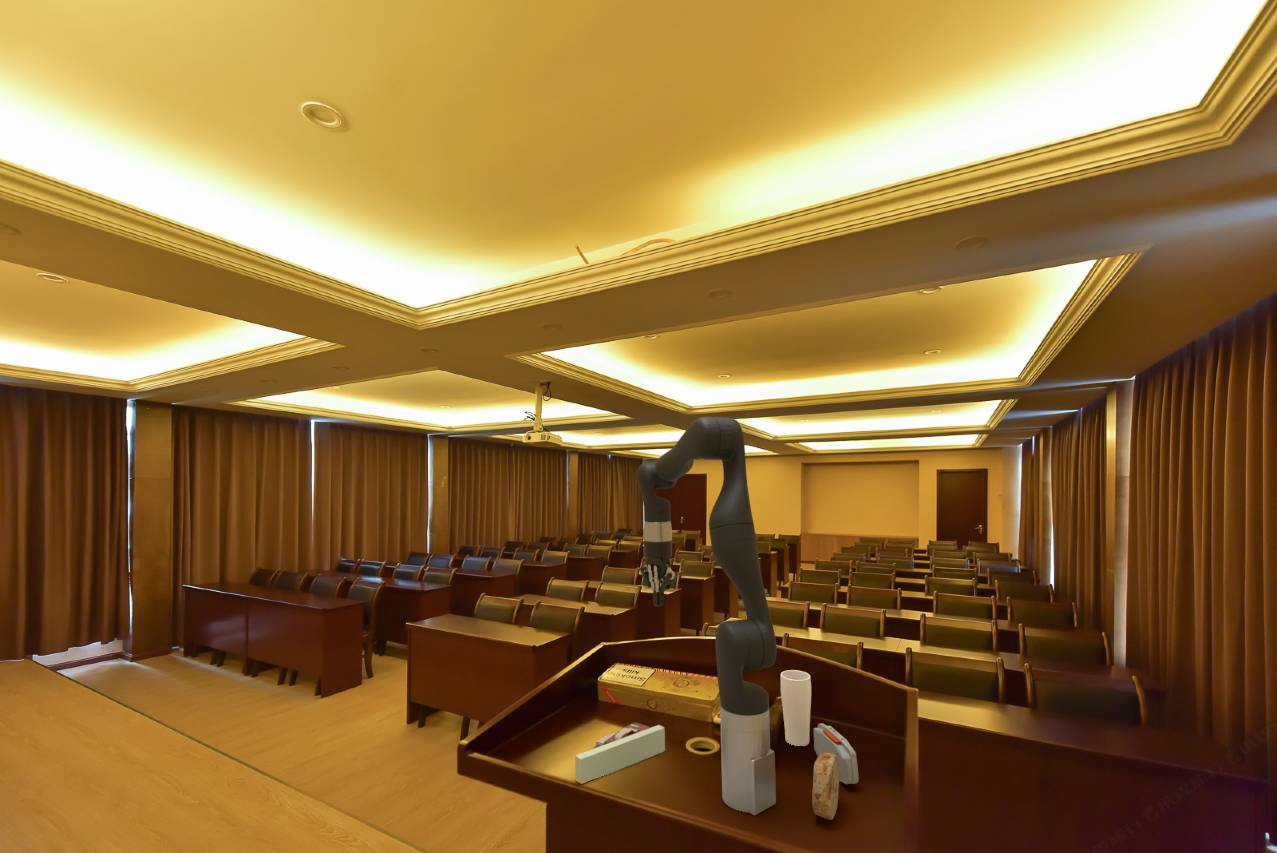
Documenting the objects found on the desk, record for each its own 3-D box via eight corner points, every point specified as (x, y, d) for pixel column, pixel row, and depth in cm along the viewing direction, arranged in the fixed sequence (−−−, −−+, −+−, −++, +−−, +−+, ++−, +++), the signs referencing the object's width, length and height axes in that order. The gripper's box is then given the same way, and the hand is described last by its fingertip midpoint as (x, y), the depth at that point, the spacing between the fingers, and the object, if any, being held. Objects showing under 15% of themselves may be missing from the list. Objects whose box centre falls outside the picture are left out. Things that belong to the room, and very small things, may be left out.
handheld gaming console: (860, 792, 112) (859, 749, 113) (846, 793, 112) (845, 750, 112) (823, 755, 126) (822, 717, 127) (811, 757, 126) (809, 718, 126)
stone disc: (822, 795, 111) (820, 741, 112) (842, 801, 109) (840, 746, 110) (809, 825, 102) (807, 766, 102) (831, 831, 100) (829, 771, 101)
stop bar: (665, 751, 129) (664, 727, 129) (580, 785, 116) (580, 759, 116) (659, 747, 131) (658, 724, 131) (575, 781, 117) (575, 755, 117)
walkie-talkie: (626, 730, 140) (573, 767, 123) (626, 711, 140) (573, 746, 123) (657, 739, 135) (606, 779, 118) (657, 720, 135) (606, 756, 119)
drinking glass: (818, 741, 132) (815, 674, 133) (804, 752, 127) (801, 682, 128) (791, 732, 137) (789, 667, 138) (776, 742, 132) (774, 675, 133)
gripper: (685, 539, 149) (686, 608, 148) (652, 535, 159) (653, 599, 158) (663, 542, 144) (664, 613, 143) (631, 537, 155) (631, 603, 154)
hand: (658, 605), depth 151 cm, fingers closed
